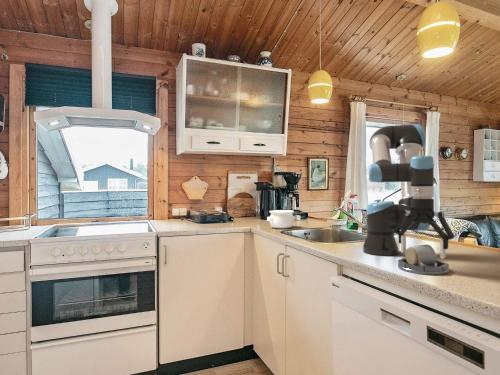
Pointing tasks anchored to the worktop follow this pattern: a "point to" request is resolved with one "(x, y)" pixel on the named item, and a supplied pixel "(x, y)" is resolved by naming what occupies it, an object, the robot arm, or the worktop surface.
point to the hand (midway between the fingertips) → (422, 255)
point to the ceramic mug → (421, 256)
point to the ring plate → (424, 268)
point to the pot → (281, 218)
